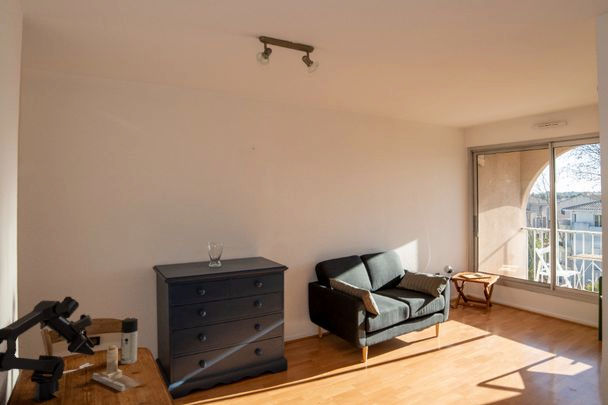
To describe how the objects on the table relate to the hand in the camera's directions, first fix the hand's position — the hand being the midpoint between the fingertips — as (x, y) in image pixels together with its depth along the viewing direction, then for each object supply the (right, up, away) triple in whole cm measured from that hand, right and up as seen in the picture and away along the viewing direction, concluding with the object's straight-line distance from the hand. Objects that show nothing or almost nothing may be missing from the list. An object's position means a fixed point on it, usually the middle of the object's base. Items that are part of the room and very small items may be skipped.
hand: (93, 350), depth 154 cm
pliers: (-14, -14, +11) cm, 23 cm away
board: (+9, -14, 0) cm, 17 cm away
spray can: (+5, -14, +20) cm, 25 cm away
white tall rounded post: (+6, -12, +3) cm, 14 cm away
